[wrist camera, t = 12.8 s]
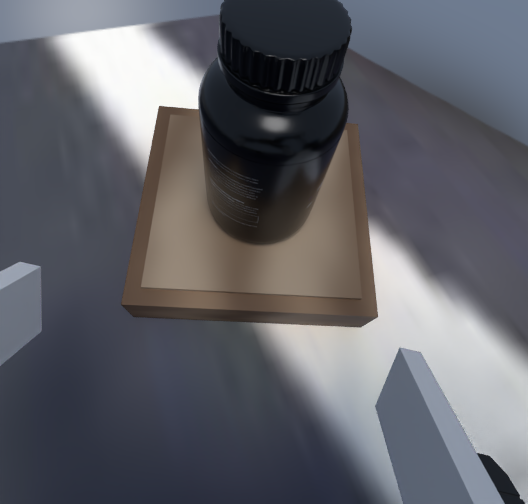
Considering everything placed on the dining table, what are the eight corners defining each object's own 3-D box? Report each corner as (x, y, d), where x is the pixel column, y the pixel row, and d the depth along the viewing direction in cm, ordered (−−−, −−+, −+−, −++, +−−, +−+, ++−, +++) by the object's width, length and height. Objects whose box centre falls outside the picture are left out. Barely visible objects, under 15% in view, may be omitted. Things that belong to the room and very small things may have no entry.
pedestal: (345, 149, 30) (358, 121, 27) (360, 327, 24) (379, 315, 21) (165, 134, 29) (158, 102, 26) (133, 316, 23) (119, 303, 20)
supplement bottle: (328, 226, 23) (419, 61, 12) (229, 262, 21) (232, 108, 11) (284, 147, 25) (326, -52, 14) (192, 173, 24) (162, -28, 13)
